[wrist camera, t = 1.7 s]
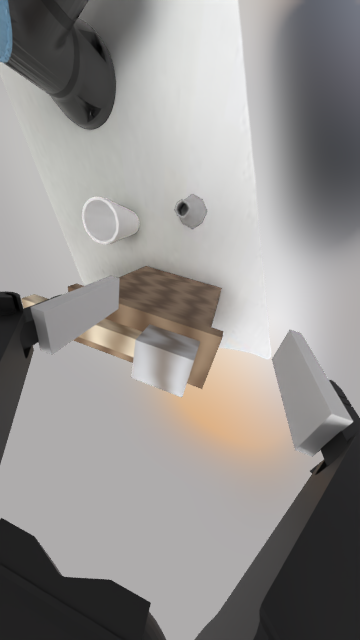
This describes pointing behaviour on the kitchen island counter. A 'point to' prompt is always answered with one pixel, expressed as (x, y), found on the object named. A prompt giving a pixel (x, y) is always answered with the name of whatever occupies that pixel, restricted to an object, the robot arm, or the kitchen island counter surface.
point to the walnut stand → (168, 313)
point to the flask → (191, 211)
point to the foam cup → (108, 220)
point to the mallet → (145, 351)
